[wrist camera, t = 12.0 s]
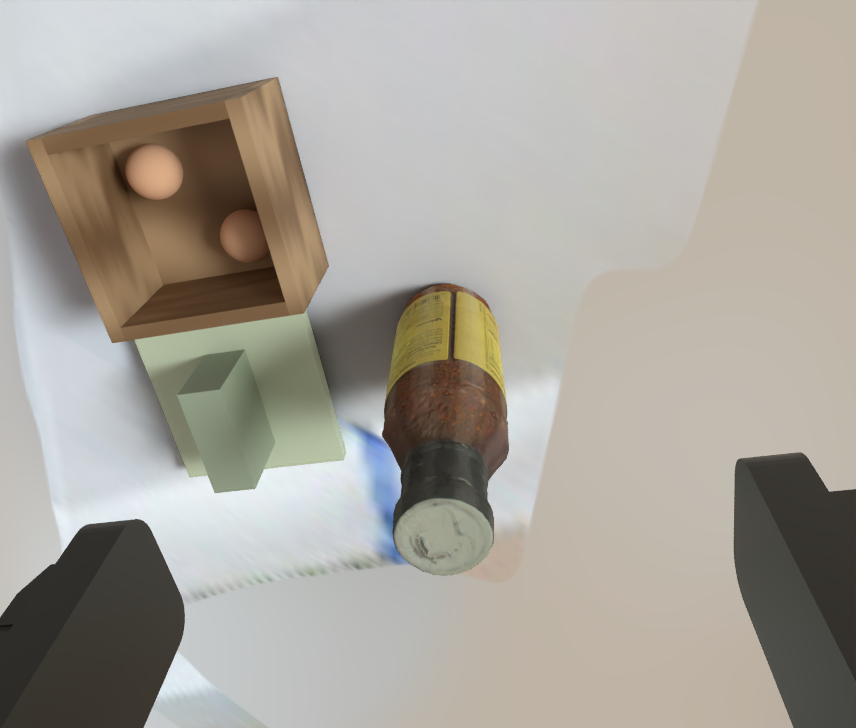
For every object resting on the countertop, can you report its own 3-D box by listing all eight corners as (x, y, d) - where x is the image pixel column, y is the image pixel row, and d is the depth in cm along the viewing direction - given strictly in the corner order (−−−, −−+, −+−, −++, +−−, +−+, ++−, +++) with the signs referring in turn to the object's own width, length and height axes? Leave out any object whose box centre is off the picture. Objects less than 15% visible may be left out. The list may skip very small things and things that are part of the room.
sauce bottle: (393, 361, 49) (340, 585, 31) (405, 270, 46) (354, 463, 28) (494, 376, 49) (498, 609, 31) (512, 287, 46) (527, 489, 28)
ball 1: (130, 143, 42) (107, 155, 40) (180, 133, 42) (160, 145, 39) (150, 195, 44) (128, 210, 41) (198, 186, 43) (179, 201, 41)
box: (92, 115, 43) (25, 141, 36) (277, 77, 41) (240, 97, 35) (160, 293, 48) (112, 343, 41) (328, 266, 46) (304, 313, 40)
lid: (145, 321, 49) (95, 373, 43) (308, 297, 47) (281, 348, 41) (199, 460, 54) (162, 525, 48) (348, 443, 52) (329, 507, 46)
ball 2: (222, 207, 44) (205, 223, 41) (271, 198, 43) (257, 213, 41) (238, 255, 45) (222, 274, 42) (286, 247, 45) (273, 265, 42)
